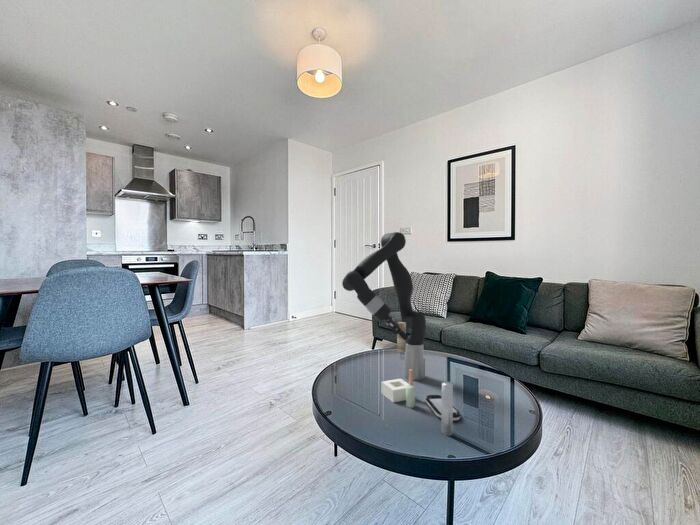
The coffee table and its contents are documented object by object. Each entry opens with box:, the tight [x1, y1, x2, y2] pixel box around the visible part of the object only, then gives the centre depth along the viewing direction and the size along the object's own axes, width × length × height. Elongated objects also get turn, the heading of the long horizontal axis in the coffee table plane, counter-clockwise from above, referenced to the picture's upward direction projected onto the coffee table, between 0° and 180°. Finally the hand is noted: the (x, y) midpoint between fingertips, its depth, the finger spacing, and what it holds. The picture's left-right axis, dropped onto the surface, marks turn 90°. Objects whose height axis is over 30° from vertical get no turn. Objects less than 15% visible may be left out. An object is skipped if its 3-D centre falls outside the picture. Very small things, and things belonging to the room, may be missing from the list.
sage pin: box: [405, 385, 416, 409], centre depth 117 cm, size 4×4×8 cm
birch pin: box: [396, 321, 407, 353], centre depth 124 cm, size 4×4×12 cm
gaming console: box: [424, 394, 462, 423], centre depth 114 cm, size 19×9×2 cm, turn 6°
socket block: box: [380, 369, 414, 403], centre depth 126 cm, size 10×10×12 cm
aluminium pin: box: [440, 380, 454, 437], centre depth 98 cm, size 4×4×16 cm
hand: (406, 337), depth 124 cm, fingers closed on birch pin, 3 cm apart
